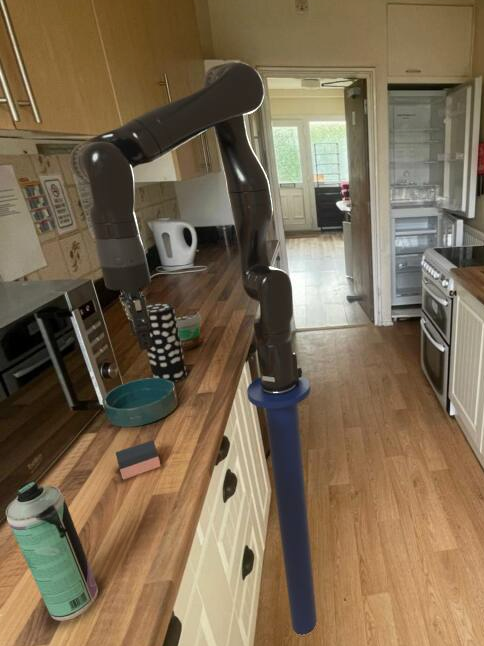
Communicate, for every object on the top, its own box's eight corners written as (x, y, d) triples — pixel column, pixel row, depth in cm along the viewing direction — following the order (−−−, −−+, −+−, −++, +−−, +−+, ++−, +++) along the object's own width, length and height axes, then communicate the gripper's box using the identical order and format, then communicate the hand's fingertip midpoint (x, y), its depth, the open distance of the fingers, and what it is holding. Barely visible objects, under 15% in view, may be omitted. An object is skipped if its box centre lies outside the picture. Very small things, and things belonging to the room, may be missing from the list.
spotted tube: (188, 368, 123) (176, 301, 115) (184, 381, 115) (170, 311, 107) (157, 371, 121) (142, 304, 113) (150, 385, 113) (133, 314, 105)
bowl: (170, 389, 111) (166, 372, 109) (184, 414, 100) (180, 396, 98) (104, 407, 103) (99, 389, 101) (112, 437, 92) (106, 417, 90)
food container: (171, 355, 130) (164, 325, 126) (164, 349, 134) (158, 319, 131) (211, 344, 138) (206, 315, 134) (203, 339, 142) (198, 310, 138)
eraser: (157, 456, 86) (152, 439, 85) (160, 466, 84) (156, 449, 82) (120, 469, 83) (115, 452, 81) (123, 480, 80) (117, 462, 78)
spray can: (107, 583, 61) (66, 470, 53) (80, 621, 56) (31, 503, 48) (69, 581, 61) (23, 469, 53) (39, 620, 56) (-16, 502, 48)
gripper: (153, 265, 75) (171, 349, 82) (139, 252, 86) (156, 327, 92) (104, 271, 71) (126, 359, 77) (96, 256, 82) (116, 334, 88)
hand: (142, 341), depth 85 cm, fingers open, 8 cm apart
